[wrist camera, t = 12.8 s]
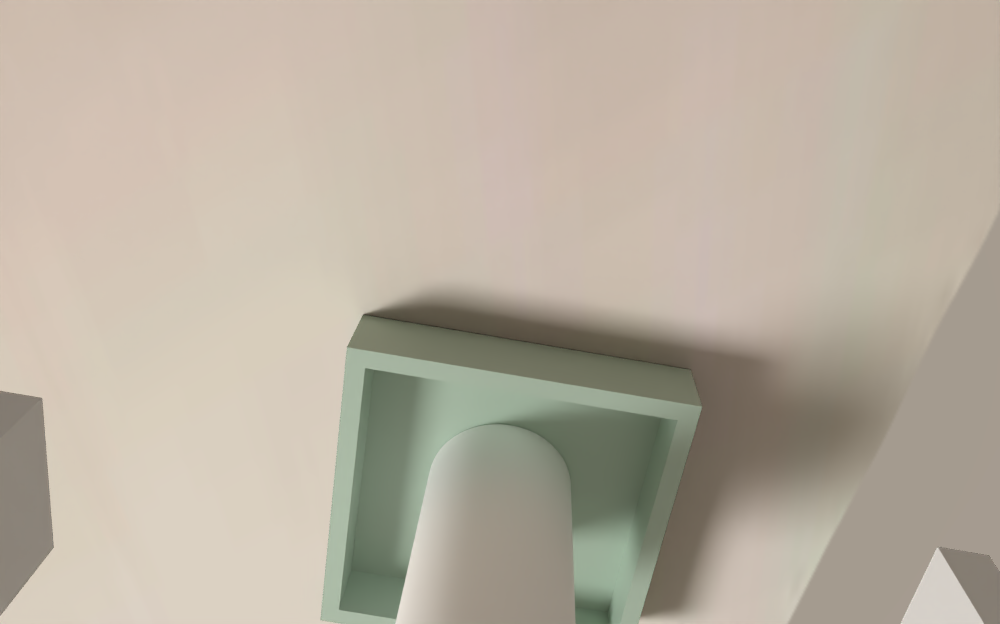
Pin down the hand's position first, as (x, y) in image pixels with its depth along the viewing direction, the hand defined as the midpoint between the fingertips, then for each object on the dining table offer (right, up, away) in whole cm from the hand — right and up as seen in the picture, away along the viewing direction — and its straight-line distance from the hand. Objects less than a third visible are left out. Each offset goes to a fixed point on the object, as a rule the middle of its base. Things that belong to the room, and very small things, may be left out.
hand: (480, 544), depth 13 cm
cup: (0, -6, +37) cm, 38 cm away
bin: (0, -6, +38) cm, 38 cm away
